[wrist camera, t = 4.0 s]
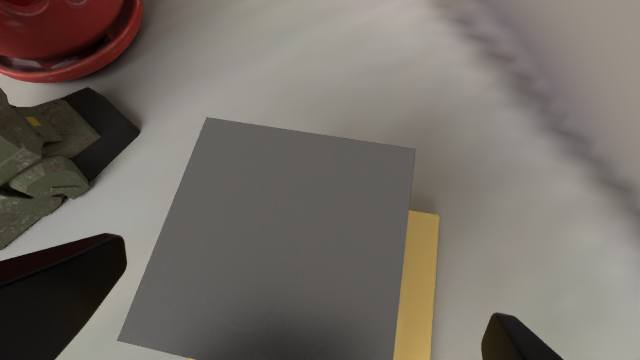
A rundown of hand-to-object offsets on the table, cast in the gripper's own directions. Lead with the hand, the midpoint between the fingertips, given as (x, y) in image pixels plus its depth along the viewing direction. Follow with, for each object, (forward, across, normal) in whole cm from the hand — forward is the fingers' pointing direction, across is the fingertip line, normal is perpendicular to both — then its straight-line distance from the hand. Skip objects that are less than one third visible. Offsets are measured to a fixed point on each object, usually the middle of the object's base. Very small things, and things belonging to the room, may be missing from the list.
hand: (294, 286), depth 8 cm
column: (+7, 0, +6) cm, 9 cm away
